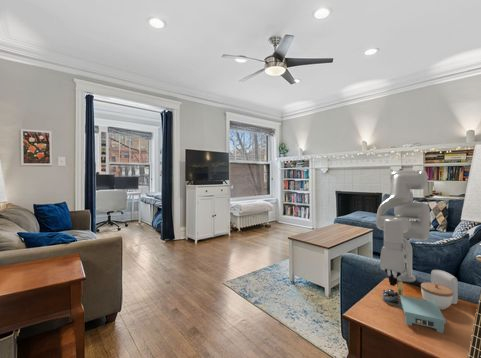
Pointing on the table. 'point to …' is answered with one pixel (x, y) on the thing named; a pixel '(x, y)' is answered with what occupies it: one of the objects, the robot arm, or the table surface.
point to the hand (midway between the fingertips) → (393, 284)
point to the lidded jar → (437, 294)
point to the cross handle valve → (393, 293)
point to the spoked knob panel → (421, 312)
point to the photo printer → (446, 282)
